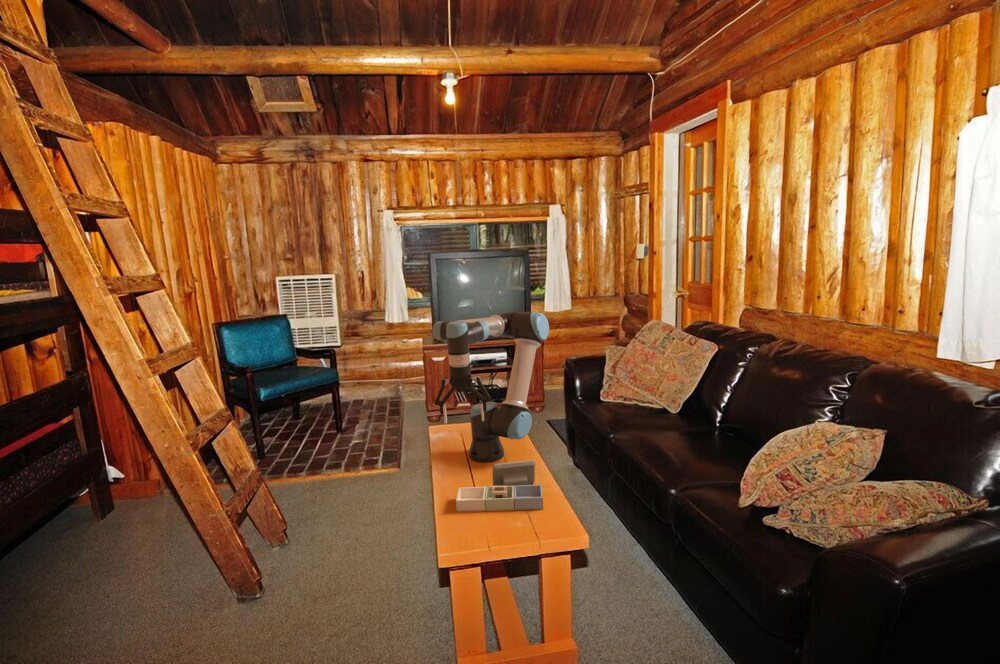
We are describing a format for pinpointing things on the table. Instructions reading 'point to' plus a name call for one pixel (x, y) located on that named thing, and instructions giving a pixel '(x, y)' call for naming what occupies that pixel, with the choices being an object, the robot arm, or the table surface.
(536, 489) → the box
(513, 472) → the digital clock
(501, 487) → the letter cube
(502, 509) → the box
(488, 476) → the table surface
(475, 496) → the caddy cream
